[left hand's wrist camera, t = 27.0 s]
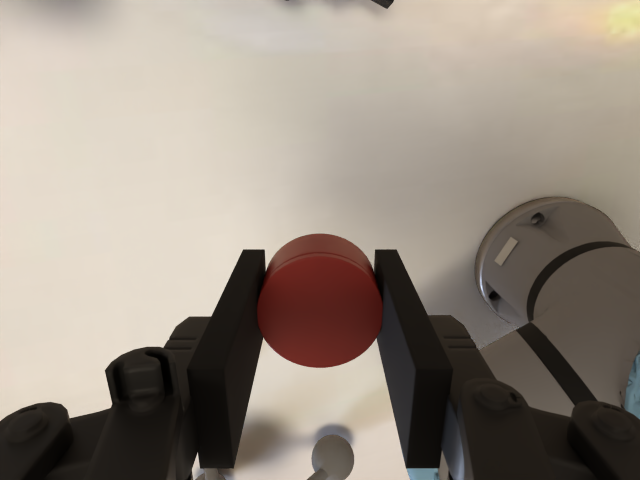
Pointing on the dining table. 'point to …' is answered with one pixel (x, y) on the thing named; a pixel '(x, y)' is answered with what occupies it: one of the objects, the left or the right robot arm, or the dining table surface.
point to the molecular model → (317, 461)
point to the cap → (319, 302)
